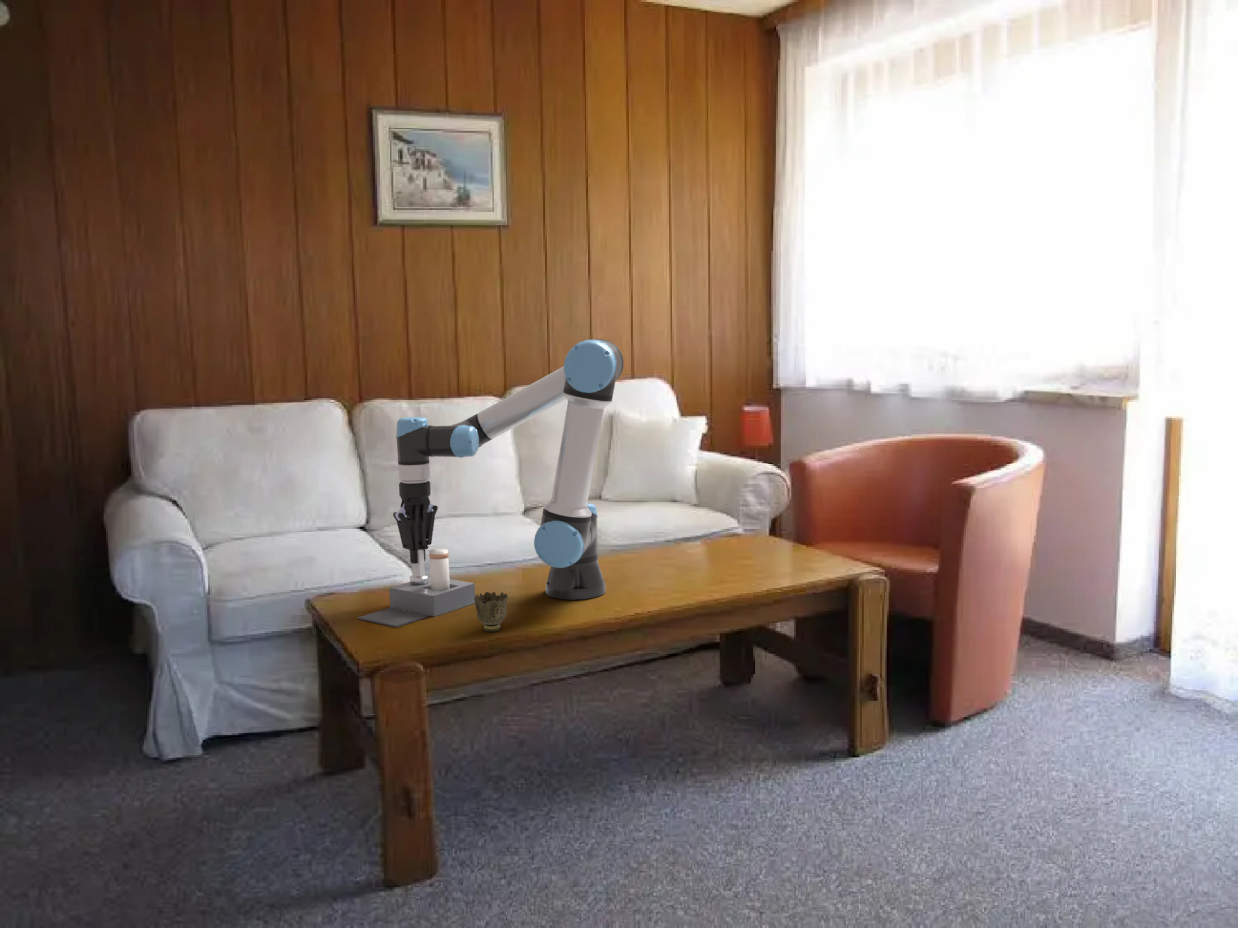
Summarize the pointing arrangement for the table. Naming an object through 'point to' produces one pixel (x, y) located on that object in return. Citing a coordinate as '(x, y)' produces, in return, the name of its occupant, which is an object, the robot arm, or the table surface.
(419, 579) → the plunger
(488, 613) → the cup
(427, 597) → the housing
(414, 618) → the mat
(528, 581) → the table surface
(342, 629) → the table surface
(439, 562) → the cylinder
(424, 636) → the table surface
